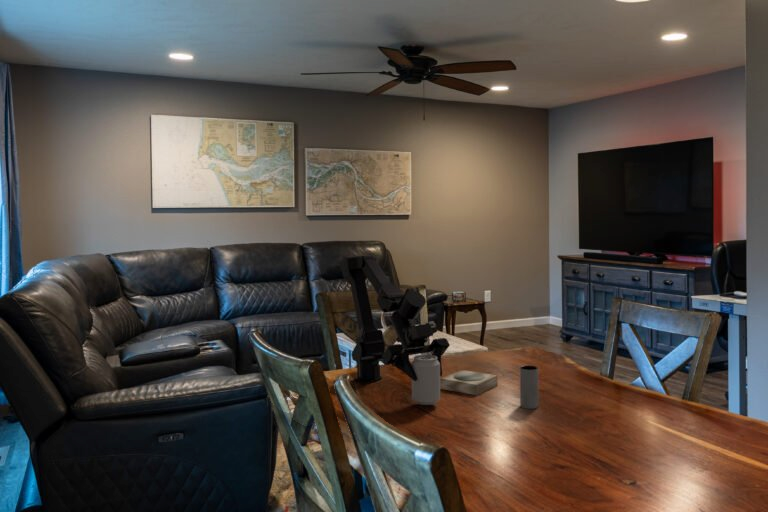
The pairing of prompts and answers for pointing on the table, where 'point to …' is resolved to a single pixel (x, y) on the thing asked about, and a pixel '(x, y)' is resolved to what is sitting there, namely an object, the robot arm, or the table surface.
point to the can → (426, 380)
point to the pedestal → (469, 382)
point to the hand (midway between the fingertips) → (428, 378)
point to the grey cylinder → (529, 387)
